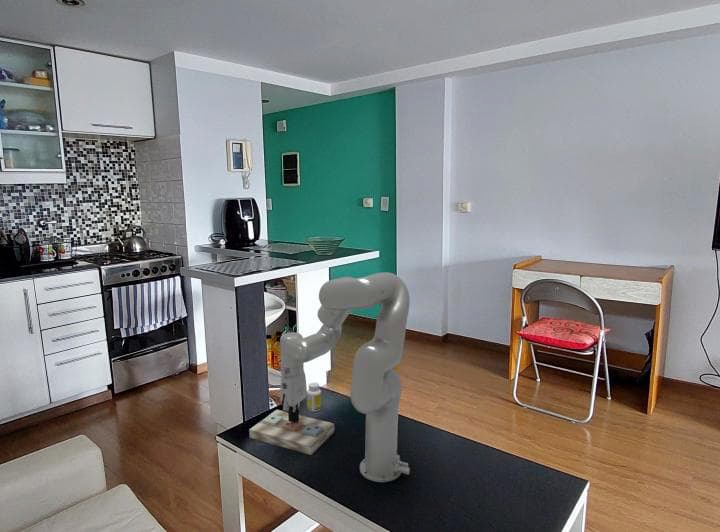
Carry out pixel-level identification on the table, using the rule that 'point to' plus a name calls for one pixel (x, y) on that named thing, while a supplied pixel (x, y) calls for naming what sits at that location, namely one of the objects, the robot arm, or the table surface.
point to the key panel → (292, 434)
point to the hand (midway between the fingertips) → (293, 420)
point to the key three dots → (292, 425)
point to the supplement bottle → (314, 397)
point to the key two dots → (312, 430)
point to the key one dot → (273, 420)
